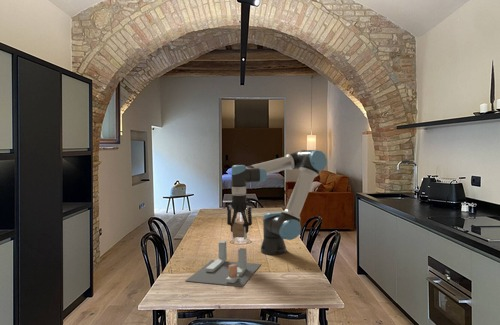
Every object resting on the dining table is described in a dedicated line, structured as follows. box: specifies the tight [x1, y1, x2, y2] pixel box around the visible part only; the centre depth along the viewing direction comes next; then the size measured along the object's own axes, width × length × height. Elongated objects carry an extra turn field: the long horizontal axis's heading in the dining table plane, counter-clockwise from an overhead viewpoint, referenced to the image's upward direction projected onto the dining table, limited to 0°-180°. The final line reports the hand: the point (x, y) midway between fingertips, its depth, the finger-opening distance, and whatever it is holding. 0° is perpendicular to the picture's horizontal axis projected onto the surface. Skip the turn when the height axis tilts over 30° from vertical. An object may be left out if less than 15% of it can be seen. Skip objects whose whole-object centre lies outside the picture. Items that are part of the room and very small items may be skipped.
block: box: [232, 221, 245, 239], centre depth 196 cm, size 6×6×7 cm
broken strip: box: [226, 247, 248, 283], centre depth 179 cm, size 20×4×10 cm, turn 163°
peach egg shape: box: [229, 264, 237, 278], centre depth 173 cm, size 4×4×5 cm
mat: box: [185, 259, 262, 288], centre depth 185 cm, size 32×28×1 cm
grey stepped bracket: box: [206, 240, 228, 272], centre depth 194 cm, size 20×4×10 cm, turn 163°
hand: (239, 238), depth 196 cm, fingers closed on block, 5 cm apart
